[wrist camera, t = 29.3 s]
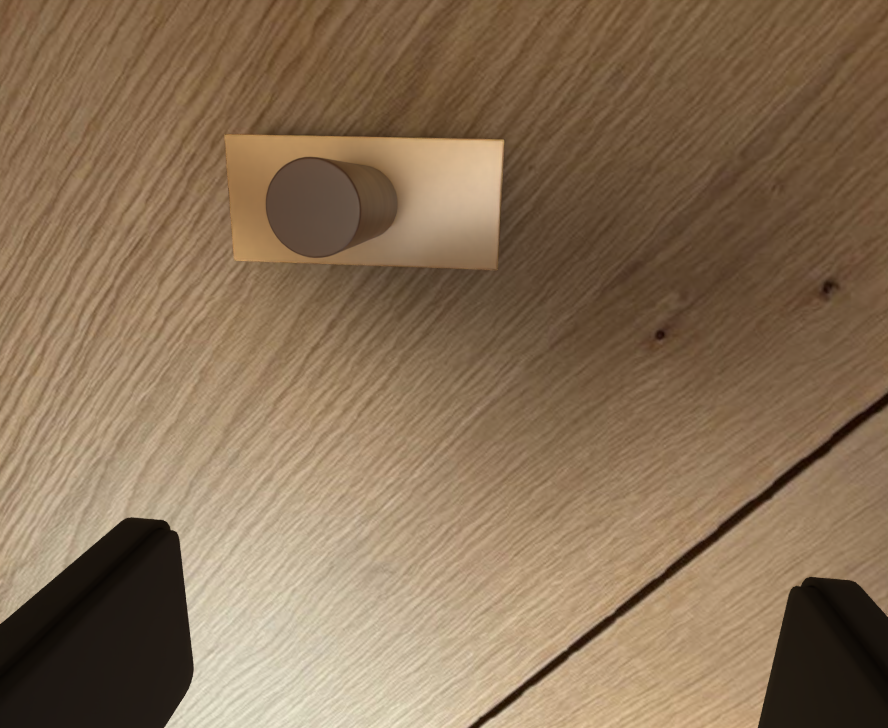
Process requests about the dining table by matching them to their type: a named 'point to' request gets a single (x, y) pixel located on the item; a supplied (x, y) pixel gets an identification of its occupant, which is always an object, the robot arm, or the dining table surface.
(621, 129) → the dining table surface
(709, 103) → the dining table surface
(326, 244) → the peg on base plate
